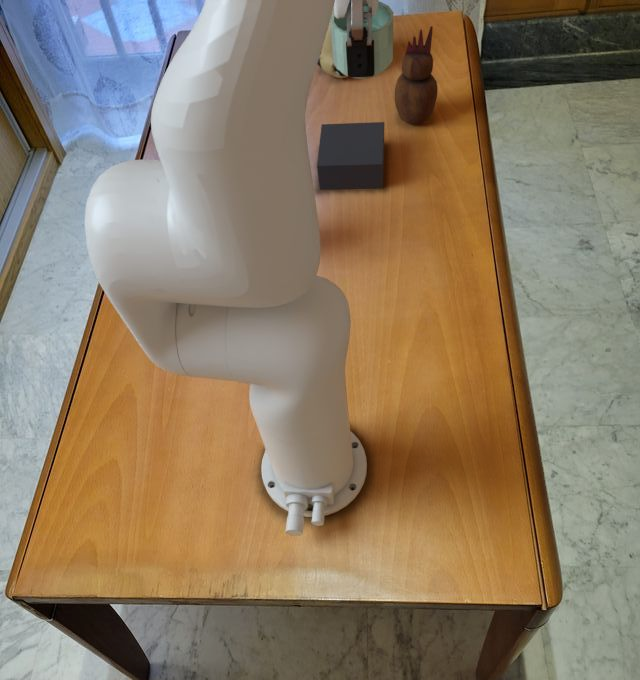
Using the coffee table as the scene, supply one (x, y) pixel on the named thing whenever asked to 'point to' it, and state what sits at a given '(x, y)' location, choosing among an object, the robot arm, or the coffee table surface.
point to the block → (351, 156)
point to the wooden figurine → (416, 83)
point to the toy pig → (329, 56)
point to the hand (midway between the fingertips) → (362, 54)
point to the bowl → (380, 35)
